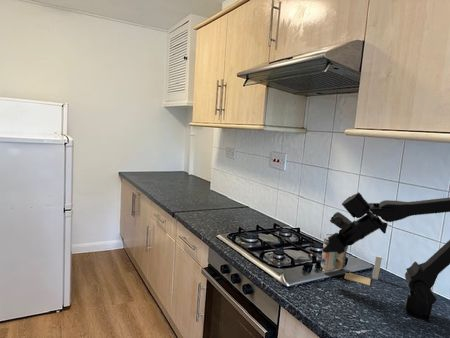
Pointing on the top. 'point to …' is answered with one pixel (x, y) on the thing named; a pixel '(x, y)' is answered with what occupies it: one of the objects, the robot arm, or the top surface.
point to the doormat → (357, 278)
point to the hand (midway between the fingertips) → (326, 249)
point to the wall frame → (376, 266)
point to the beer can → (328, 256)
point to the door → (337, 261)
